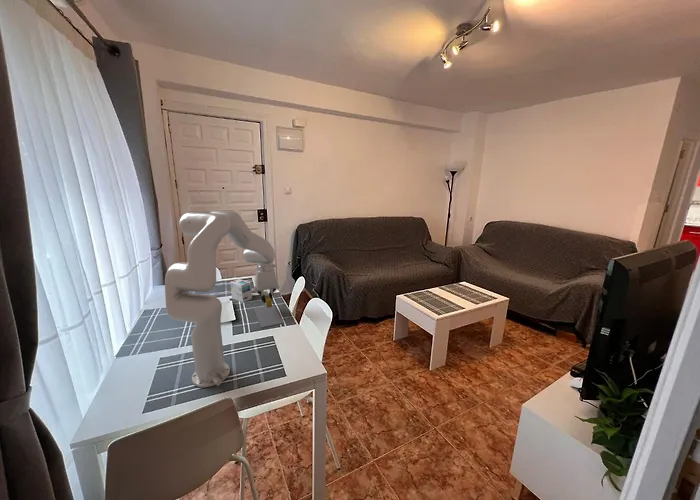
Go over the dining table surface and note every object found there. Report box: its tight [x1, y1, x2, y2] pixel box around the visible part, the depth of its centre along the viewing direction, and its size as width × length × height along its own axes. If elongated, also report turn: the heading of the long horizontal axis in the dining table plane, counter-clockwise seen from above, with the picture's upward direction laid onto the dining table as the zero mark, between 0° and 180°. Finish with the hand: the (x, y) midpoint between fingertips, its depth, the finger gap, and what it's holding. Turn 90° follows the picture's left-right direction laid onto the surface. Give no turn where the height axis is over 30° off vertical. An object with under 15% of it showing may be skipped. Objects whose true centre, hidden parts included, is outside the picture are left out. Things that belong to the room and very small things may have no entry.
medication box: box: [264, 290, 273, 308], centre depth 145 cm, size 12×3×4 cm, turn 27°
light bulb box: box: [230, 278, 253, 303], centre depth 166 cm, size 11×7×11 cm, turn 58°
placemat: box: [253, 304, 284, 329], centre depth 147 cm, size 22×11×1 cm, turn 27°
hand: (267, 301), depth 145 cm, fingers closed on medication box, 2 cm apart
